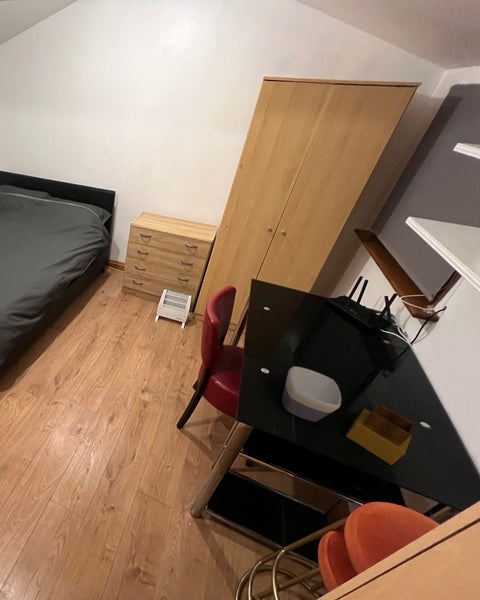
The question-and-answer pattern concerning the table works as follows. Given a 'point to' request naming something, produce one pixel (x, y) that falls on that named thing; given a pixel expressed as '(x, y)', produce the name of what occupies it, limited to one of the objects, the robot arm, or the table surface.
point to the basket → (389, 424)
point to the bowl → (310, 394)
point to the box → (375, 441)
